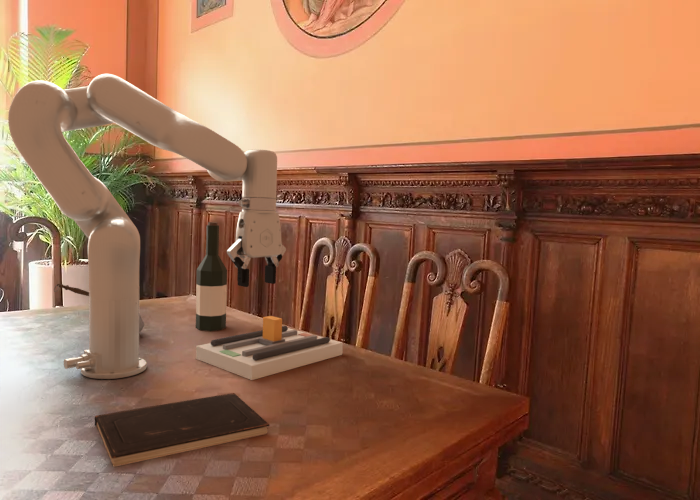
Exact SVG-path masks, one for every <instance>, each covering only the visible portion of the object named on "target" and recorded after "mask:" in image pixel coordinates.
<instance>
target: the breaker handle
mask: <svg viewBox="0 0 700 500" xmlns="http://www.w3.org/2000/svg"><path fill="white" fill-rule="evenodd" d="M282 326H283V318H281V317H278V316H273V315H268V316H263V317H262V330H263V337H262V338H259V343H262V344H266V345H271V344H276V343H280V342H285V339H282Z"/></svg>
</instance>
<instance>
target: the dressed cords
mask: <svg viewBox="0 0 700 500" xmlns="http://www.w3.org/2000/svg"><path fill="white" fill-rule="evenodd" d="M288 328H289V327H288V325H282V332H284V331H287V330H288ZM260 336H263V329H262V330H255V331H252V332H247V333H242V334H237V335H232V336H230V335H229V336H225V337H221V338H216V339H212V340H211V341H210V343H211V345H212V346H216V345H221V344H226V343H231V342H236V341H240V340H245V339H250V338H255V337H260ZM329 341H330V336H324V338H320V339H316V340H311V341H307V342H303V343H299V344H294V345H290V346H286V347H282V348H278V349H273V350H269V351H265V352H261V353H256V354H254V355H253V357H252V358H253V360H260V359H264V358H268V357H272V356H276V355H280V354H284V353H288V352H292V351H296V350H300V349H304V348H308V347H312V346H316V345H320V344H324V343H328V342H329Z"/></svg>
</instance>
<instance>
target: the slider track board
mask: <svg viewBox="0 0 700 500" xmlns="http://www.w3.org/2000/svg"><path fill="white" fill-rule="evenodd" d="M262 337H263V336H260V337H255V338H250V339H245V340H240V341H236V342H231V343H226V344H221V345H216V346H212V345H211V342H209V343H204V344H200V345H199V344H198V345H195V346H196V347H195V360H198V361H201V362H203V363H206V364H209V365H211V366H214V367H216V368H219V369H222V370H223V371H224V370H225V371H227V372H229V373H232V374H235V375H238V376H240V377H242V378H245V379H248V380H251V381H253V380H254V381H255V380H257V379H261V378H264V377H267V376H271V375H272V376H273V375H274V374H275V375H276V374H279V373H282V372H285V371H289V370H293V369H297V368H299V367H303V366H306V365H307V366H308V365H310V364H315V363H318V362H322V361H326V360H327V359H332V358H335V357H338V356H342V355H343V350H344V349H343V346H344V343H343V342H342V341H338V340H335V339H330V341H329V342H328V343H324V344H320V345H316V346H312V347H308V348H304V349H300V350H296V351H292V352H288V353H284V354H280V355H276V356H272V357H268V358H264V359H260V360H253V358H252V357H253V355H254V354H256V353H261V352H265V351H269V350H273V349H278V348H282V347H286V346H290V345H294V344H299V343H303V342H307V341H311V340H316V339H320V338H324V337H325V336H324V337H323V336H320V335H315V334H312V333H308V332H304V331H301V330H297V329H292V328H290V327H288V330H287V331H284V332H282V339H285V342H280V343H276V344H271V345H266V344H262V343H259V338H262Z"/></svg>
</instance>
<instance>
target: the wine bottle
mask: <svg viewBox="0 0 700 500" xmlns="http://www.w3.org/2000/svg"><path fill="white" fill-rule="evenodd" d="M205 232H206V233H205V234H206V235H205V236H206V239H205V240H206V243H205V245H206V246H205V256H204V257H203V259H202V261H201V262H200V264H199V265H198V267H197V268H196V277H195V278H196V281H195V284H196V285H195V286H196V287H195V291H196V293H195V294H196V295H195V329H197V330H198V331H205V332H215V331H222V330H224V329H226V328H227V294H228V293H227V292H228V291H227V290H228V286H227V285H228V269H227V267H226V265H225V264H224V262H223V260H222V259H221V257H220V255H219V246H220V245H219V243H220V240H219V239H220V225H218V222H217V221H208V222H207V224H206V231H205Z"/></svg>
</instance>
